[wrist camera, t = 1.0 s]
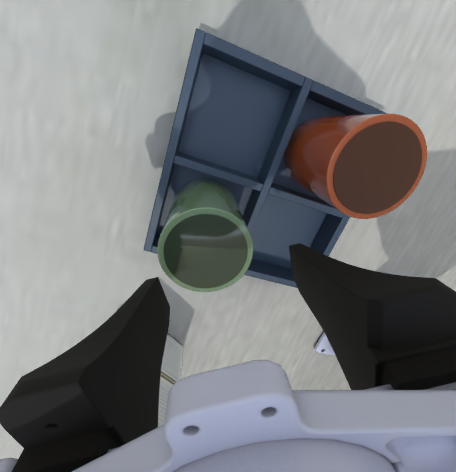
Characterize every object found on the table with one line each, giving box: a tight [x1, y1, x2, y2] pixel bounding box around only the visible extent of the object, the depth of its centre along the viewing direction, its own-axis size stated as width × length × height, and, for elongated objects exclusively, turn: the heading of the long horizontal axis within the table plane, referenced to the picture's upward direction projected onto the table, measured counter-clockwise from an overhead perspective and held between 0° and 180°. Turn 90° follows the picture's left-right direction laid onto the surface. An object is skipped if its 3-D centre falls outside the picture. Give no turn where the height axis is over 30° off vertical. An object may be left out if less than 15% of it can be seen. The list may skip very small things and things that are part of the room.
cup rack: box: [144, 29, 387, 288], centre depth 21 cm, size 15×15×3 cm
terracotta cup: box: [284, 114, 427, 219], centre depth 17 cm, size 6×6×8 cm
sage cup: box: [158, 178, 253, 292], centre depth 19 cm, size 6×6×8 cm
